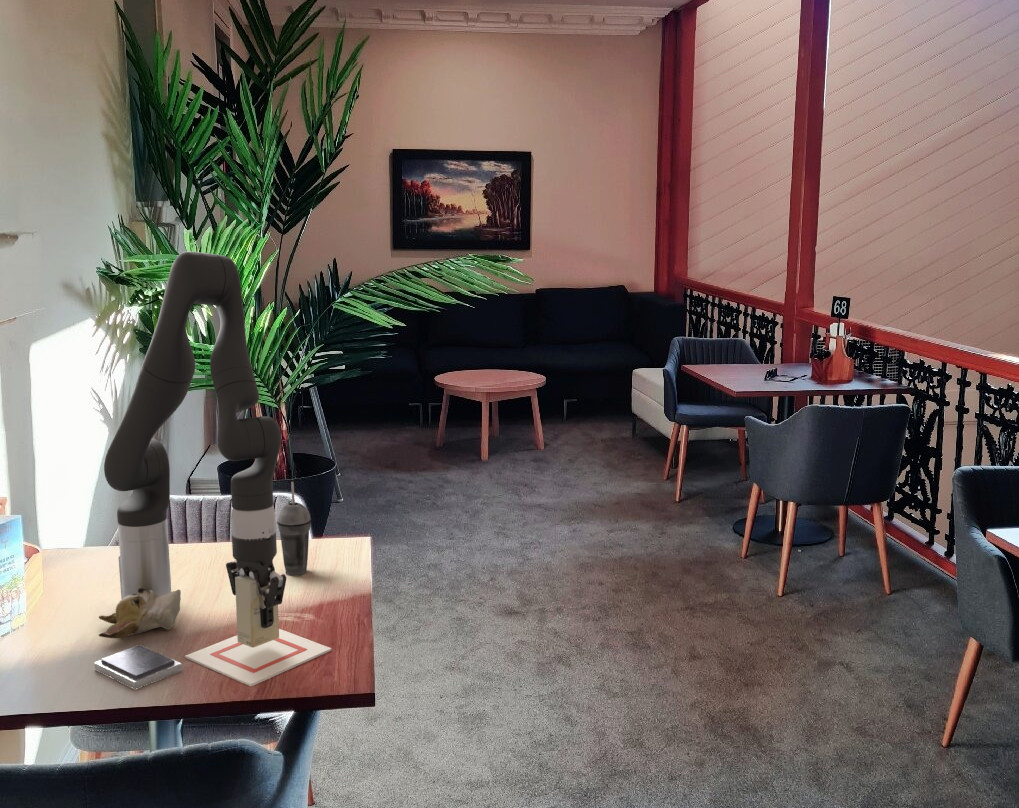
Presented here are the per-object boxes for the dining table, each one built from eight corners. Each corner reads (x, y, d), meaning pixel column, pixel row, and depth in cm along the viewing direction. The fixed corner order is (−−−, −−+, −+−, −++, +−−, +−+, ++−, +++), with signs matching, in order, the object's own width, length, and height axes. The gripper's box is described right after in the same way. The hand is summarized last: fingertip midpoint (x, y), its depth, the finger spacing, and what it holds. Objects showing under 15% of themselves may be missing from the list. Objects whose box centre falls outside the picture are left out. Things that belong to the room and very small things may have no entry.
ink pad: (94, 670, 176) (94, 659, 176) (141, 652, 184) (140, 642, 183) (135, 690, 169) (134, 678, 169) (181, 670, 176) (181, 660, 176)
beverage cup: (279, 579, 220) (276, 488, 216) (278, 568, 227) (274, 480, 223) (314, 576, 222) (311, 486, 218) (311, 565, 229) (308, 478, 225)
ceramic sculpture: (181, 591, 189) (94, 606, 184) (186, 635, 191) (100, 651, 186) (177, 572, 199) (94, 587, 194) (182, 614, 201) (100, 630, 195)
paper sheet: (185, 657, 181) (185, 655, 181) (266, 625, 195) (266, 623, 195) (250, 686, 171) (250, 683, 171) (331, 650, 185) (331, 647, 185)
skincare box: (252, 649, 179) (249, 582, 177) (236, 642, 182) (233, 577, 179) (280, 637, 184) (278, 572, 182) (264, 631, 187) (261, 567, 184)
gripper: (210, 528, 180) (215, 620, 183) (263, 544, 172) (267, 640, 175) (244, 518, 186) (249, 607, 189) (297, 533, 178) (301, 626, 181)
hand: (258, 622), depth 182 cm, fingers closed on skincare box, 4 cm apart
